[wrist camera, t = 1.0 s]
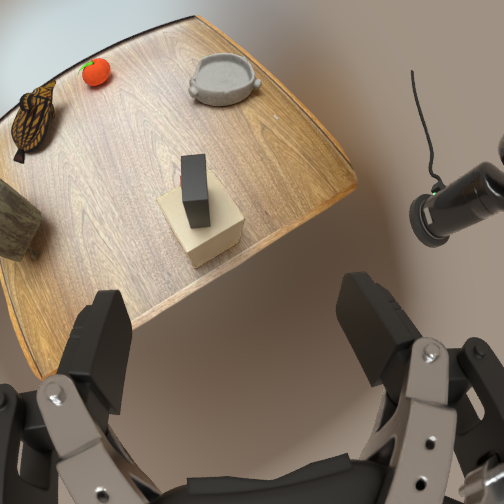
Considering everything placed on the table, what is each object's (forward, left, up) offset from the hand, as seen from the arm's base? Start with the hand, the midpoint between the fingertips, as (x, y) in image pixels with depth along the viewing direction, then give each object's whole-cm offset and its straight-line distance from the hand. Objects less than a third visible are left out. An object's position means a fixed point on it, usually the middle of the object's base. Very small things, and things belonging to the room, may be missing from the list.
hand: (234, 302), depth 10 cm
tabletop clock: (+13, -38, -33) cm, 52 cm away
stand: (-8, -10, -33) cm, 35 cm away
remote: (-8, -10, -22) cm, 25 cm away
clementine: (-20, -56, -33) cm, 68 cm away
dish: (-35, -29, -33) cm, 56 cm away
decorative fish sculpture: (-2, -58, -33) cm, 67 cm away
